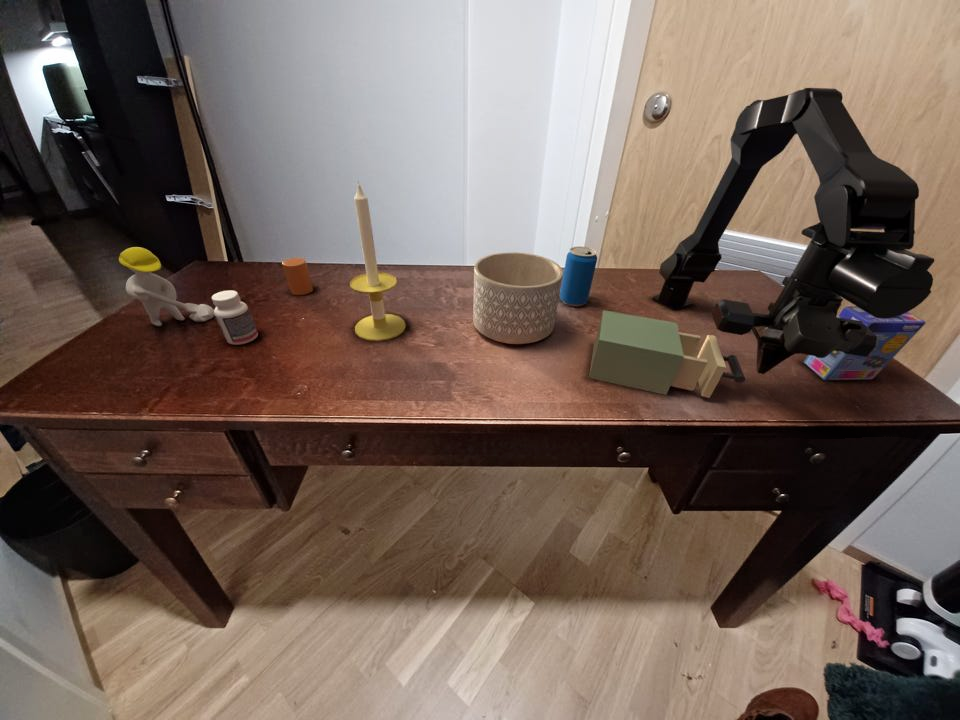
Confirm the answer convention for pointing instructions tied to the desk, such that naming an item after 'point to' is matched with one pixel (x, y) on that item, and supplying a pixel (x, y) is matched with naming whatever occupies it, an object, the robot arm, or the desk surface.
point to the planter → (516, 296)
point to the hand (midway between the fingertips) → (759, 372)
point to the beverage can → (578, 276)
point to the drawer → (704, 365)
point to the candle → (373, 282)
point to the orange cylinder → (297, 276)
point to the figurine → (156, 288)
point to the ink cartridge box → (890, 343)
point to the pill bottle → (234, 318)
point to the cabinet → (636, 352)
